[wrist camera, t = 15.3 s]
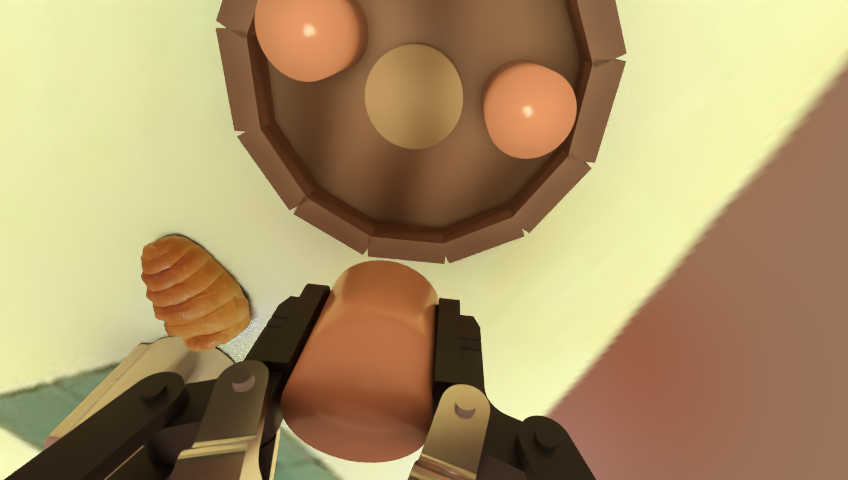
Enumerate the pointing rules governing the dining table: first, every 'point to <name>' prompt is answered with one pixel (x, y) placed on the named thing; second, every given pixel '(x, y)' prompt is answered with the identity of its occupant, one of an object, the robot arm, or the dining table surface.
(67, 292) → the dining table surface
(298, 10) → the bead
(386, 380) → the bead
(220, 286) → the pastry
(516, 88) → the bead
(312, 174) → the tray
